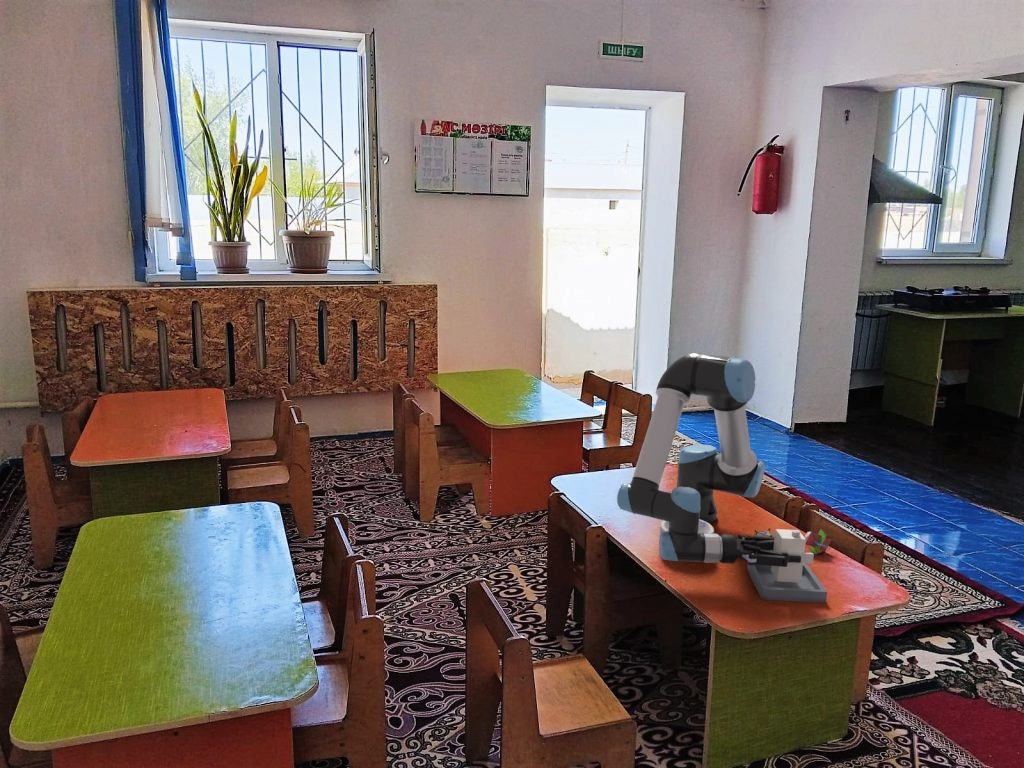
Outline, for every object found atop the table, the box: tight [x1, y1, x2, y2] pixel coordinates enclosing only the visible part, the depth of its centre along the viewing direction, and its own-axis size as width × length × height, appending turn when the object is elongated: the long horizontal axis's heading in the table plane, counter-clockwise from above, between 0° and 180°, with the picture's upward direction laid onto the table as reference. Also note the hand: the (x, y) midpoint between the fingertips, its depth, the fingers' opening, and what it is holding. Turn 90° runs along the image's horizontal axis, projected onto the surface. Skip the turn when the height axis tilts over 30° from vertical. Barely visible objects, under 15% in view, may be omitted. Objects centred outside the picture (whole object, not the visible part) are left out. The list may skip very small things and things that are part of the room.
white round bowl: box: [659, 519, 715, 535], centre depth 222 cm, size 15×15×8 cm
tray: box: [746, 563, 828, 604], centre depth 203 cm, size 16×16×3 cm
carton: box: [771, 528, 807, 582], centre depth 201 cm, size 6×6×13 cm
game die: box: [753, 527, 775, 554], centre depth 220 cm, size 9×8×10 cm
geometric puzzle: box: [804, 528, 832, 555], centre depth 224 cm, size 7×7×8 cm
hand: (808, 552), depth 201 cm, fingers closed on carton, 6 cm apart
